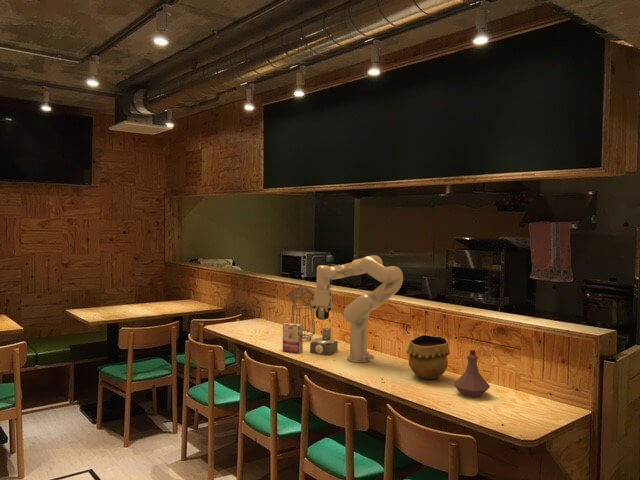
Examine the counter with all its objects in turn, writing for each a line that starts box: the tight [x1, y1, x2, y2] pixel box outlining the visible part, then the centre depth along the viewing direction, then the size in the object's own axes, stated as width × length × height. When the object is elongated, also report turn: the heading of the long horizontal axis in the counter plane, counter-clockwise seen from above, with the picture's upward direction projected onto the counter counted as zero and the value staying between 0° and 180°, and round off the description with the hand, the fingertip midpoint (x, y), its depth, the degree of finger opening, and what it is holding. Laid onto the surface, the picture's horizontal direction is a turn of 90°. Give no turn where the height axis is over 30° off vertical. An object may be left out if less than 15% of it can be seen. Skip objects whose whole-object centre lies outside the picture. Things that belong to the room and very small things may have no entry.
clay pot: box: [405, 334, 451, 380], centre depth 262 cm, size 21×21×20 cm
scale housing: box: [309, 340, 339, 357], centre depth 309 cm, size 12×12×6 cm
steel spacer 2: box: [321, 327, 332, 340], centre depth 311 cm, size 5×5×6 cm
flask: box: [453, 349, 491, 399], centre depth 238 cm, size 16×16×20 cm
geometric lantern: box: [287, 285, 316, 342], centre depth 338 cm, size 16×16×35 cm
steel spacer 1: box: [317, 307, 327, 321], centre depth 306 cm, size 5×5×6 cm
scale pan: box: [313, 337, 335, 344], centre depth 309 cm, size 12×12×1 cm
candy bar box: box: [282, 322, 304, 355], centre depth 308 cm, size 11×5×16 cm, turn 62°
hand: (322, 317), depth 306 cm, fingers closed on steel spacer 1, 5 cm apart
